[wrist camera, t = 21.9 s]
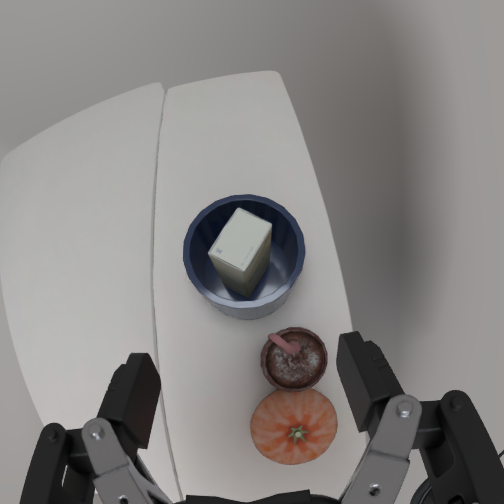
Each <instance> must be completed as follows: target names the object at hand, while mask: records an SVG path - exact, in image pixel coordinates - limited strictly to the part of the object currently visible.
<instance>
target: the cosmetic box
mask: <svg viewBox="0 0 504 504" xmlns="http://www.w3.org/2000/svg"><path fill="white" fill-rule="evenodd" d="M271 233H272V224H271V223H269V222H267V221H265V220H263V219H261V218H259V217H257V216H255V215H253V214H251V213H249V212H247V211H245V210H243V209H241V208H237V210H236V211H235V212H234V214H233V215H232V217H231V218H230V220H229V221H228V222H227V224H226V225H225V227H224V228H223V230H222V231H221V233H220V235H219V236H218V238H217V239H216V241H215V242H214V244H213V246H212V247H211V249H210V250H209V252H208V254H209V256H210V258H211V260H212V262H213V265H214V267H215V269H216V271H217V273H218V275H219V277H220V279H221V281H222V283H223V285H224V286H226V287H228V288H229V289H231V290H233V291H235V292H236V293H238V294H240V295H242V296H244V297H246V298H250V296H251V294H252V293H253V291H254V289H255V288H256V286H257V284H258V283H259V281H260V279H261V278H262V276H263V274H264V272H265V271H266V269H267V267H268V265H269V262H270V249H271Z"/></svg>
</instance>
